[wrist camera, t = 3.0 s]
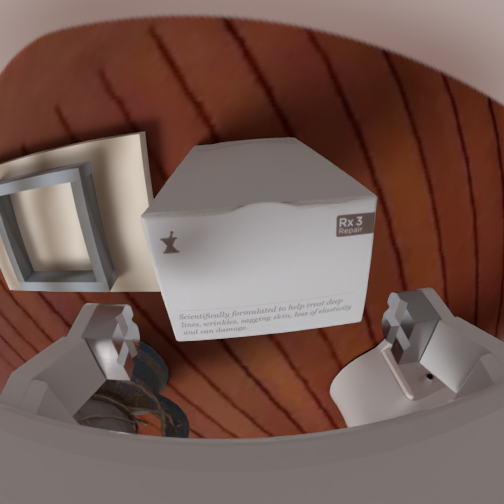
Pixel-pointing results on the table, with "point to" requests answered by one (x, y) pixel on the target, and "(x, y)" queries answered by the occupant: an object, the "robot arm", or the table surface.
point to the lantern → (135, 400)
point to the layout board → (78, 218)
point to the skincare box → (260, 241)
